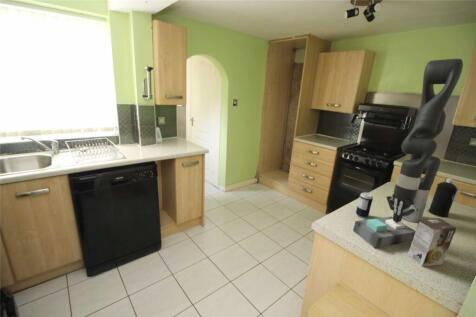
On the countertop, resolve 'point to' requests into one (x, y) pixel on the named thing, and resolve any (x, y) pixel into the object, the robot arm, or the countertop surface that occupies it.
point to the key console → (384, 234)
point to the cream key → (394, 224)
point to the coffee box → (431, 241)
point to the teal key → (376, 225)
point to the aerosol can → (443, 198)
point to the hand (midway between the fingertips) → (396, 221)
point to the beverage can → (364, 205)
